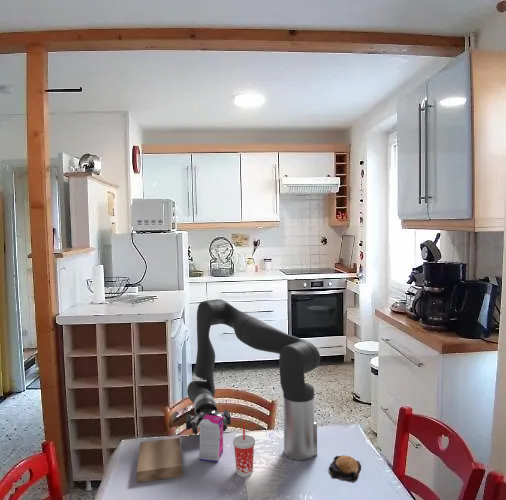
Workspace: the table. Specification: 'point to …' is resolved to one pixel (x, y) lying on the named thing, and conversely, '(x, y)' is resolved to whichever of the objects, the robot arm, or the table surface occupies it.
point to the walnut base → (159, 460)
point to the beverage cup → (244, 453)
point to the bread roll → (345, 468)
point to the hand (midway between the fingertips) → (210, 429)
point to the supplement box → (211, 438)
